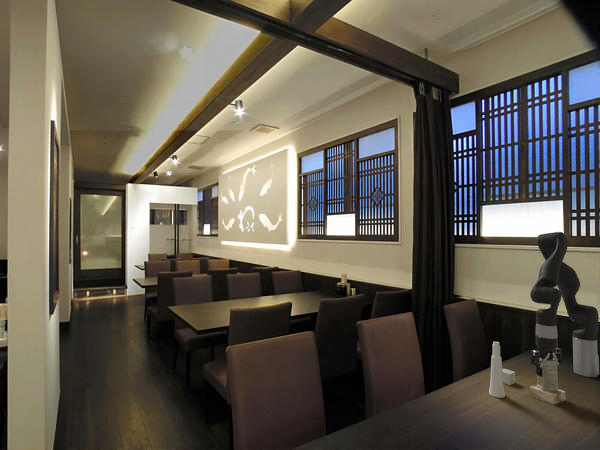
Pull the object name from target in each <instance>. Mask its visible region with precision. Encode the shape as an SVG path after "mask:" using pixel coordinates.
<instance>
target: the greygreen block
mask: <svg viewBox="0 0 600 450" xmlns="http://www.w3.org/2000/svg"><path fill="white" fill-rule="evenodd" d="M502 375H503V384H505V385H507V386H511V385H514V384H516V381H517V380H516V371H513V370H511V369H507V368H502Z"/></svg>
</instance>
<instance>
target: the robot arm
mask: <svg viewBox="0 0 600 450" xmlns="http://www.w3.org/2000/svg"><path fill="white" fill-rule="evenodd" d="M536 245H537V247H538V249H539V251H540V253H541V254H542V257H543V258H544V260H545V261H544V262H543V263H542V264H541V266H540V268H539V272H538V278H537V280H536V282H535V284H534V285H533V286H532V288H531V290H530V294H529V295H530V299H531V301H532V302H533V303H535V304H540V305H541V304H542V305H550V307H548V308H540V309H537V310H536V311H535V322H536V323H535V345H536V346H537V350H534V349H532V350H531V352H530V355H531V357H530V358H531V359H530V360H531V365H532V366H534V367H535V374H536V376H537V375H538V376H540V377H542V376H543V368H542V366H543V364H544V363H546V361H548V360H552V359H553V360H555V361H557V375H558V373H559V365H560V364H563V350H562V348H558V347H559V345H558V344H559V343H558V337H559V336H558V327H557V324H558V323H557V313H558V309H559V307H560V306H559V305H560V303H561V300H562V301H563V302H564V303H563V304H564V306H565V309H566V313H567V316H568V318H569V319H570V320H571V322H574V323H576V324H580V325H581V324H582V325H584V328H583V329H582V328H581V329H575V330H573V332H572V352H573V353H572V354H573V355H572V358H573V362H572V363H573V364H572V365H573V373H575V374H577V375H579V376H583V377H587V378H597V377H599V375H600V364H599V363H600V362H599V354H598V334H599V319H600V318H599V310H598V309H597V308H596V307H595V306H592V305H587V304H582V303H581V304H579V303H578V301H577V298H576V296H577V294H578V292H579V290H580V287H581V281H580V278H579V276H578V274H577V272H576V270H575V269H574V268H573V267H571V266H570V265H569V264H567V263H565V262H564V259H565V256H566V254H567V250H568V246H569V241H568V237H567V236H566V234H565V233H564V232H562V231H555V232H548V233H541V234H538V235H537V237H536ZM556 287H557V288H556ZM540 358H541V359H543V360H541V359H540ZM540 361H541V363H540V364H539V362H540Z"/></svg>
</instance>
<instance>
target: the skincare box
mask: <svg viewBox="0 0 600 450" xmlns="http://www.w3.org/2000/svg"><path fill="white" fill-rule="evenodd" d="M540 359H541V358H540ZM541 360H543V359H541ZM540 363H541V361H540V362H539V364H540ZM542 368H543V376H542V377H540V376H538V375H537V374H536V385H537V387H538V388H540V389H541V390H542V391H558V389H559V384H558V380H559V379H558V374H557V361H555V360H553V359H552V360H548V361H546V363H544V364H543V366H542Z"/></svg>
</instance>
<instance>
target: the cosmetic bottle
mask: <svg viewBox="0 0 600 450" xmlns="http://www.w3.org/2000/svg"><path fill="white" fill-rule="evenodd" d="M492 342H493V344H492V355H491V358H490V359H491V360H490V381H489V382H490V383H489V391H488V394H489V395H490V396H492V397H494V398H500V399H501V398H502V399H503V398H505V397H506V394H505V388H504V383H503V375H502V369H503V362H502V356H501V346H500V342H499V341H492Z"/></svg>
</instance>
